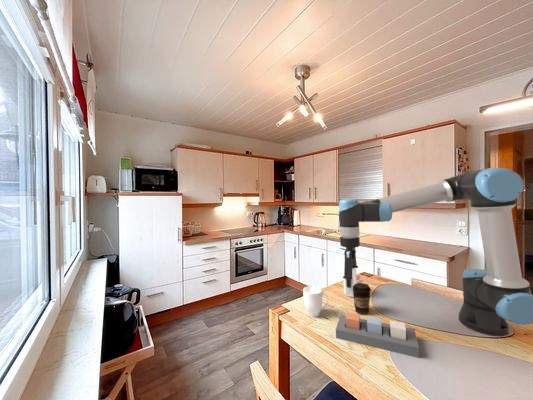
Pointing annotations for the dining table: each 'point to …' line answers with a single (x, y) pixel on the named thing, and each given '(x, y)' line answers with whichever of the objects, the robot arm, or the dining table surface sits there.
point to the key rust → (353, 321)
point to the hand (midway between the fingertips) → (351, 288)
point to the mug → (313, 300)
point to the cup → (359, 280)
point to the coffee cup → (361, 298)
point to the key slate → (374, 325)
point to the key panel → (379, 338)
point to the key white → (397, 330)
